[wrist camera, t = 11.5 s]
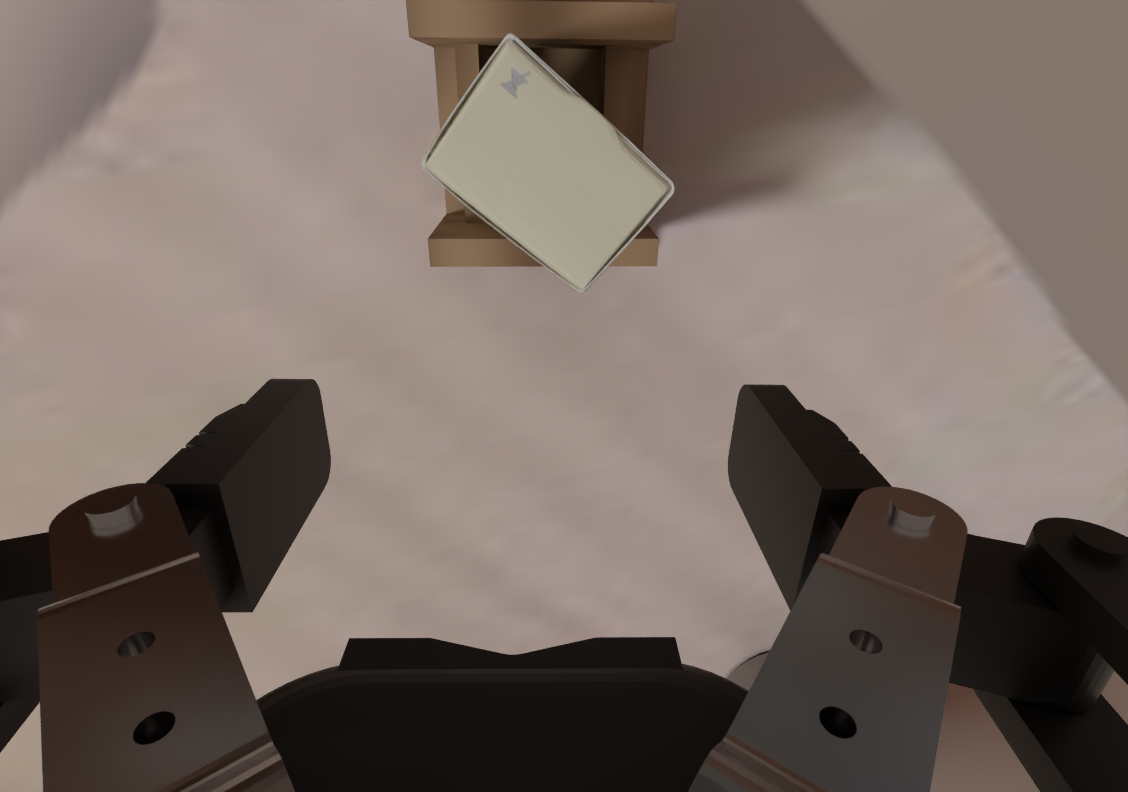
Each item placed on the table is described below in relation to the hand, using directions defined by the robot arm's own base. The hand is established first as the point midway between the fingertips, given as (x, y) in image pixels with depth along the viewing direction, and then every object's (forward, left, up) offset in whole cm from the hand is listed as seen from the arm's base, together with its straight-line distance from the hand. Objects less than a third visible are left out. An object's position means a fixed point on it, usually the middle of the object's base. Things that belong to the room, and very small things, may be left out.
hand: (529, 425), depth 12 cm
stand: (0, -4, -23) cm, 24 cm away
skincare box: (0, -4, -20) cm, 20 cm away
